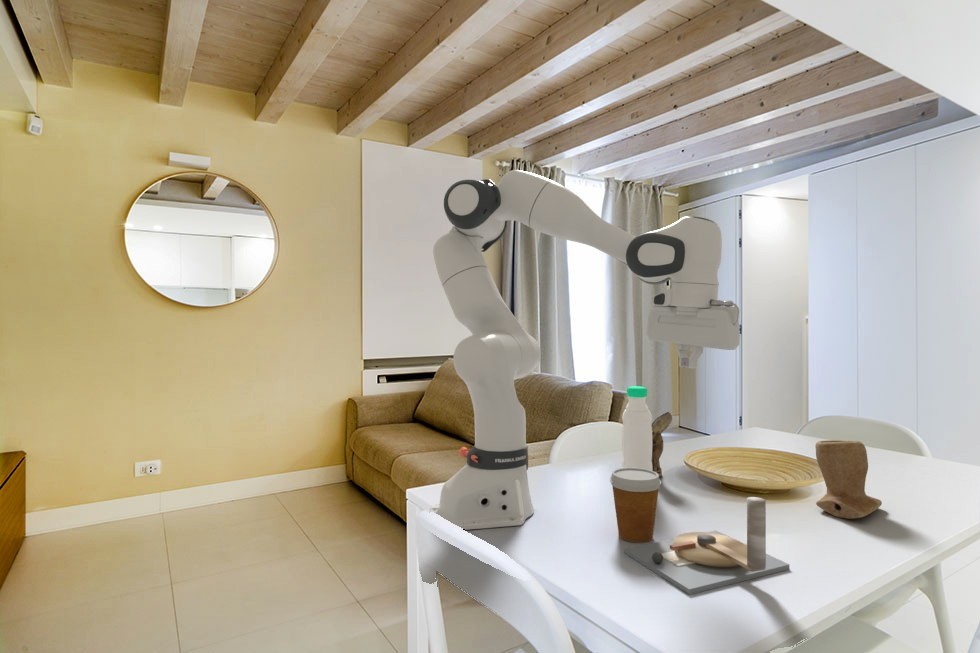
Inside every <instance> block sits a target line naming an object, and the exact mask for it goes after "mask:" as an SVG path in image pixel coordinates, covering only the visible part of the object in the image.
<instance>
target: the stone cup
mask: <svg viewBox="0 0 980 653" xmlns="http://www.w3.org/2000/svg"><path fill="white" fill-rule="evenodd" d="M815 457H816V460H817V465H818V468H819V469H820V471H821V472H820V473H821V474H822V478H823V480H824V484H825V487H826V494H824V495H823V497H821V498H820V499H819V500H818V501H816V502H815V504H816V506H817V507H818V508H820V509H821V510H823V511H824V512H826V513H827V514H830V515H832V516H833V517H836V518H841V519H848V520H849V519H852V520H853V519H861V518H864V517H866V516H868V515H870V514H872V513H873V512H875V511H877V510H878V509H879V508H880V507H881V506H882V502H883V501H882V500H881V499H878V498H875V497H872V496H869V495H867V494H866V489H865V488H866V480H867V479H866V478H867V475H868V471H869V459H868V453H867V448H866V446H865V444H864V443H863V441H859V440H842V439H841V440H840V439H839V440H838V439H837V440H836V439H830V440H829V439H828V440H827V439H826V440H819V441H817V442H816V443H815Z"/></svg>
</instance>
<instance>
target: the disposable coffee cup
mask: <svg viewBox="0 0 980 653" xmlns="http://www.w3.org/2000/svg"><path fill="white" fill-rule="evenodd" d="M609 482H610V485H611V486H612V493H613V501H614V510H615V516H616V525H617V532H618V537H619V538H620V539H622V540H624V541H626V542H630V543H647V542H651V541H652V540H653V539H654V538H653V537H654V530H655V523H656V522H655V521H656V514H657V513H656V512H657V506H658V498H659V497H658V496H659V488H661V485H662V481H661V480H660V477H659V475H658V473H656V472H654V471H651V470H648V469H642V468H622V467H621V468H617V469H614V470H612V473H611V476H610V478H609Z"/></svg>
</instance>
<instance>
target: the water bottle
mask: <svg viewBox="0 0 980 653" xmlns="http://www.w3.org/2000/svg"><path fill="white" fill-rule="evenodd" d="M626 395H627V399H628V401H627V404H626V406H625V409H624V411H623V413H622V416H621V419H622V422H623V423H622V429H621V431H622V432H621V434H622V435H621V436H622V437H621V441H622V444H621V445H622V446H621V447H622V467H621V468H642V469H648V470H651V471H652V461H651V460H652V432H653V431H652V423H653V416H652V413H651V411H650V410H649V406H648V404H647V403H646V399H647V397H648V389H647V388H646V387H644V386H639V385H638V386H637V385H635V386H633V385H632V386H629V387H627V388H626Z"/></svg>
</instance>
